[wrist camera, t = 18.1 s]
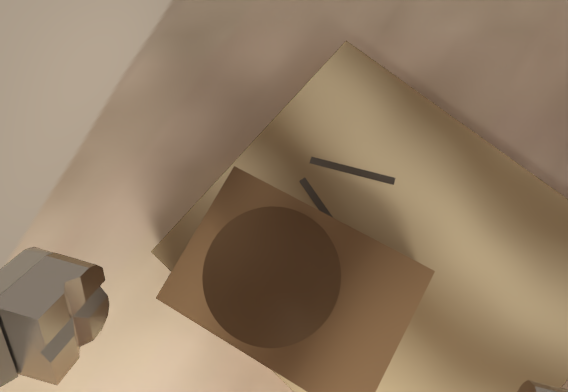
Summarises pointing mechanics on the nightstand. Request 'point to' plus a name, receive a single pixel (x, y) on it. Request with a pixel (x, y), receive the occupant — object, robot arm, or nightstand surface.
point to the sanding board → (424, 224)
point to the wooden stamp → (296, 288)
